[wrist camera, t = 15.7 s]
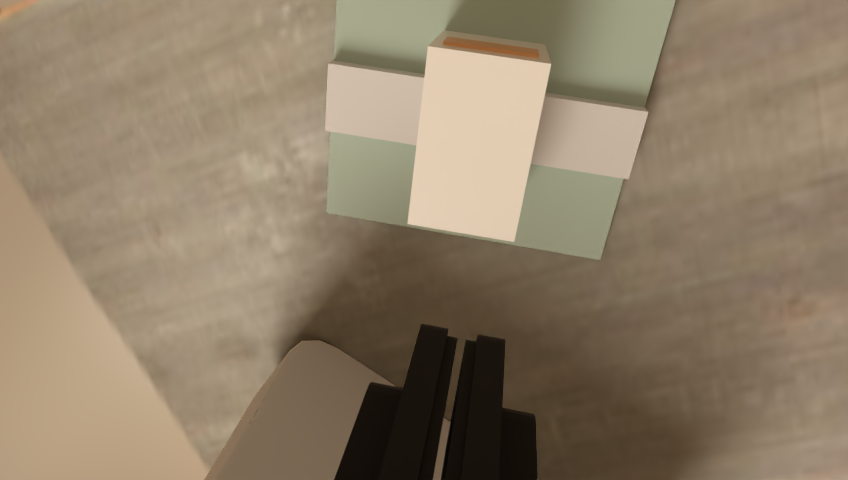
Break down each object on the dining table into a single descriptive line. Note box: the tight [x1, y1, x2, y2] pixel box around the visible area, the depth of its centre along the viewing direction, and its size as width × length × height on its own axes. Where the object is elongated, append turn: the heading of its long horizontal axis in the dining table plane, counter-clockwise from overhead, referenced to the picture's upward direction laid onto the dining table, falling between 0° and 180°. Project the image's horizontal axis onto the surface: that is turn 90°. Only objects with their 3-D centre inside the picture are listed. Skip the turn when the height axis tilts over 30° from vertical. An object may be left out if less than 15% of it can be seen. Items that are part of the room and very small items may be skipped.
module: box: [407, 30, 551, 242], centre depth 28 cm, size 5×8×6 cm, turn 173°
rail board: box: [325, 0, 676, 260], centre depth 31 cm, size 16×14×2 cm
